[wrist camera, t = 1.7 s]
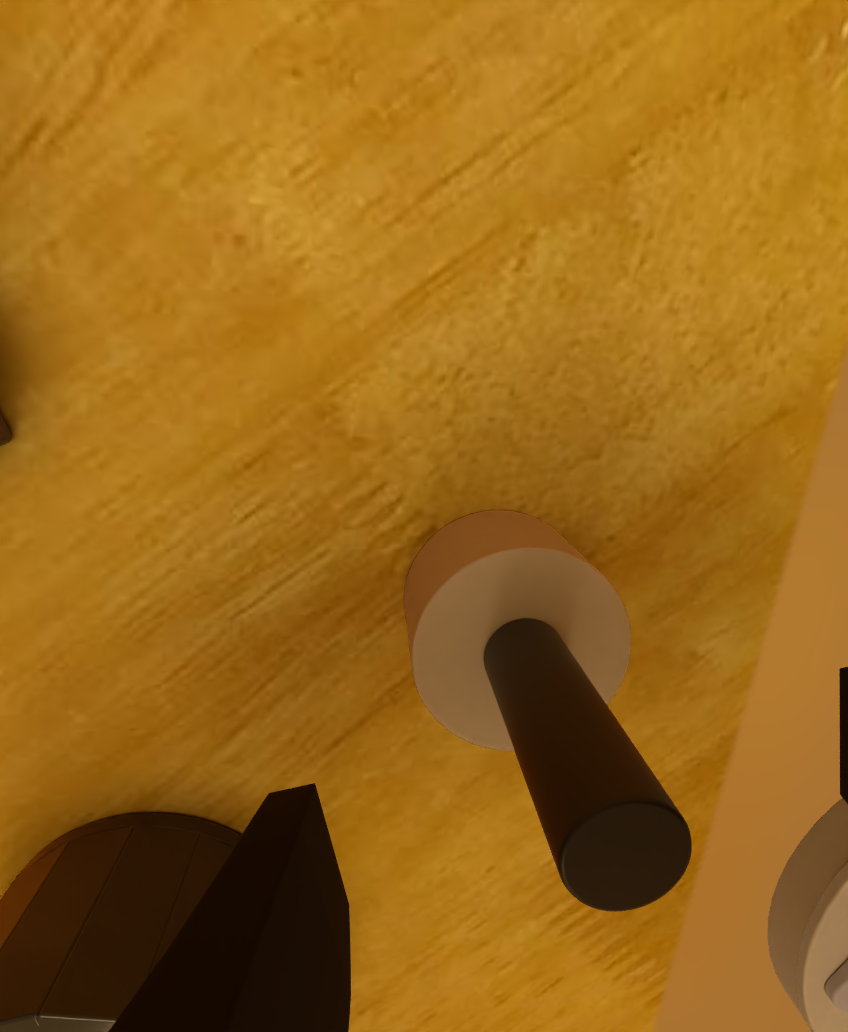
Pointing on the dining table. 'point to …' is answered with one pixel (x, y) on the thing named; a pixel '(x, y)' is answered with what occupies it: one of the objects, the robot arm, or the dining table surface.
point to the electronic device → (4, 432)
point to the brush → (545, 696)
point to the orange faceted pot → (100, 917)
